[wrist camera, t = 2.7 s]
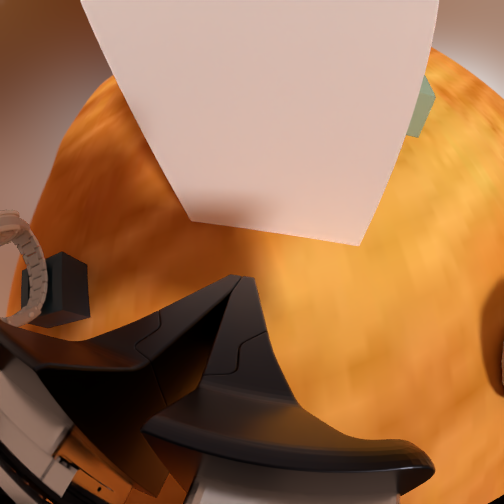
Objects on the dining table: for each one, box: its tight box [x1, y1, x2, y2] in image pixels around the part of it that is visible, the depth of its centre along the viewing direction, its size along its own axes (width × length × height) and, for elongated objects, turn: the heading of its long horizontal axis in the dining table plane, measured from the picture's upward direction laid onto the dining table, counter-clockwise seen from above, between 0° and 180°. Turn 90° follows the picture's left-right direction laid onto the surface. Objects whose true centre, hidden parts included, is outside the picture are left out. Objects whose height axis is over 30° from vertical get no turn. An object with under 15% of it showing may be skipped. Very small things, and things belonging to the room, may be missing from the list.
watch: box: [0, 210, 90, 328], centre depth 13 cm, size 6×8×11 cm
